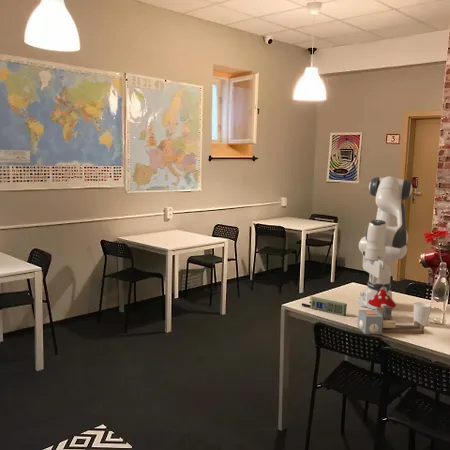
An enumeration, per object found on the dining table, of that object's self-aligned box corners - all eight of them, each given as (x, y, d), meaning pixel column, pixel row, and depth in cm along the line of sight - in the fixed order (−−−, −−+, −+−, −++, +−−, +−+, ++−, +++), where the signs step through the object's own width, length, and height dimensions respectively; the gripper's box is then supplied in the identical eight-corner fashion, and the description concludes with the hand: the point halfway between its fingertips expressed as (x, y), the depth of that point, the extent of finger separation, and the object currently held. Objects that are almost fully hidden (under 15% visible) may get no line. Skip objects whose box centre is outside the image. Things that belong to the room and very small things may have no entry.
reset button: (364, 317, 234) (365, 311, 233) (372, 317, 234) (373, 311, 234) (367, 320, 230) (368, 314, 230) (375, 320, 230) (376, 314, 230)
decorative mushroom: (395, 323, 244) (398, 294, 242) (366, 320, 248) (369, 291, 246) (393, 315, 258) (396, 287, 256) (366, 312, 261) (369, 284, 259)
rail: (374, 327, 237) (374, 320, 237) (415, 327, 239) (416, 320, 239) (380, 333, 229) (381, 326, 229) (423, 333, 231) (424, 326, 231)
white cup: (420, 327, 240) (422, 307, 239) (408, 322, 247) (410, 302, 246) (432, 325, 243) (434, 306, 242) (420, 320, 251) (422, 301, 249)
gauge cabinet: (356, 326, 237) (358, 309, 236) (373, 326, 238) (374, 309, 237) (364, 334, 227) (366, 316, 226) (381, 334, 228) (383, 316, 227)
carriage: (377, 322, 236) (378, 304, 235) (389, 322, 237) (390, 304, 236) (382, 327, 230) (384, 309, 228) (395, 327, 230) (396, 309, 229)
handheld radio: (344, 317, 252) (300, 307, 266) (346, 315, 255) (302, 306, 269) (345, 304, 252) (301, 295, 266) (347, 303, 254) (303, 294, 268)
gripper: (391, 259, 218) (388, 289, 220) (373, 250, 238) (371, 278, 240) (377, 259, 217) (375, 289, 219) (361, 250, 238) (359, 278, 239)
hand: (373, 283), depth 230 cm, fingers closed
